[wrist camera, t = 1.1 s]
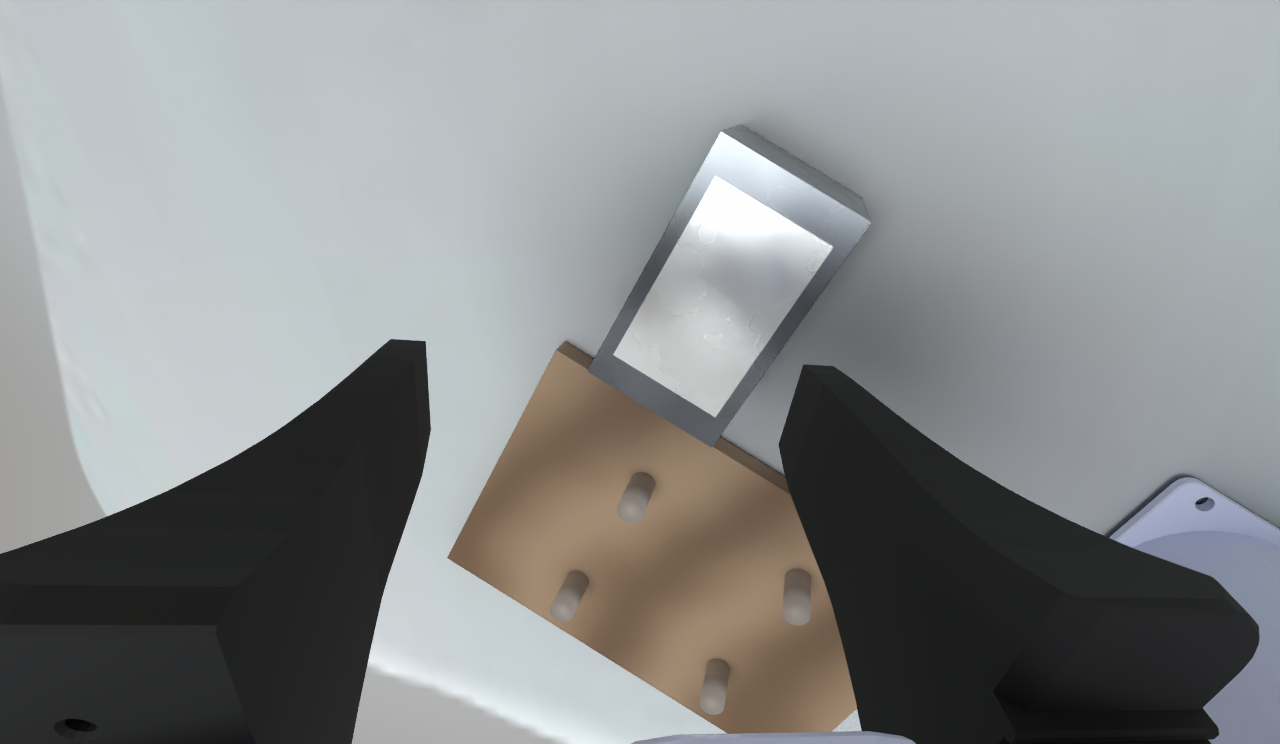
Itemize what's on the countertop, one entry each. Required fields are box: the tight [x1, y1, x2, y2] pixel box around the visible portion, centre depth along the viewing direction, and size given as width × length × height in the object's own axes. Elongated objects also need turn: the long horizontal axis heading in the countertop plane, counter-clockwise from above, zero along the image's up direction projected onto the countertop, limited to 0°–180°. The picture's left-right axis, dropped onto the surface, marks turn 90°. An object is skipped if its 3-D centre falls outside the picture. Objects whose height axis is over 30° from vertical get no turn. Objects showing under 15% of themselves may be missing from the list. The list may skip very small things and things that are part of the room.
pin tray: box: [447, 341, 857, 734], centre depth 27 cm, size 18×12×3 cm, turn 61°
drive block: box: [587, 125, 871, 448], centre depth 21 cm, size 4×8×5 cm, turn 151°
